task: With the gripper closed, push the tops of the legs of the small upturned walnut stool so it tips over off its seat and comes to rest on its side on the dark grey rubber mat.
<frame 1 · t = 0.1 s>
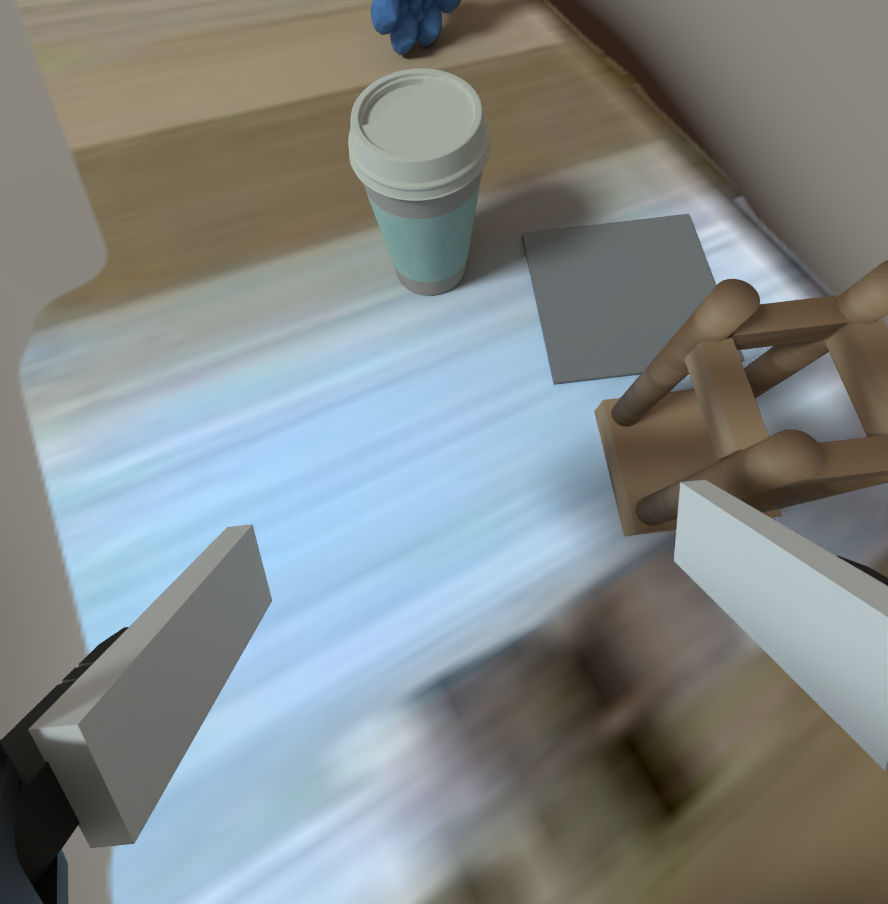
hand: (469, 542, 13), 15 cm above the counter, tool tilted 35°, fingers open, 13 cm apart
coffee cup: (431, 268, 35), on the counter
mat: (624, 295, 33), on the counter
stool: (673, 463, 29), on the counter
grapes: (422, 42, 44), on the counter
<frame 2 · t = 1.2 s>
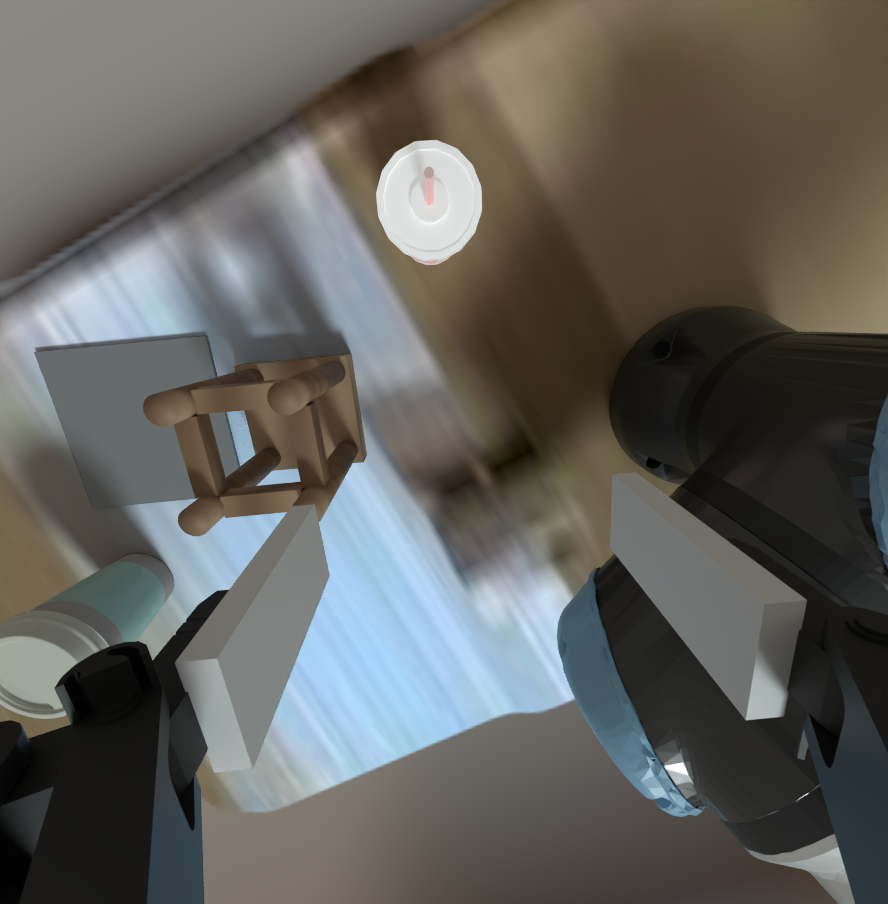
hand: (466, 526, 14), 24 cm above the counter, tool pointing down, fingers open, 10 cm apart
coffee cup: (145, 578, 41), on the counter
mat: (148, 426, 37), on the counter
stool: (308, 410, 37), on the counter
beverage cup: (430, 233, 33), on the counter
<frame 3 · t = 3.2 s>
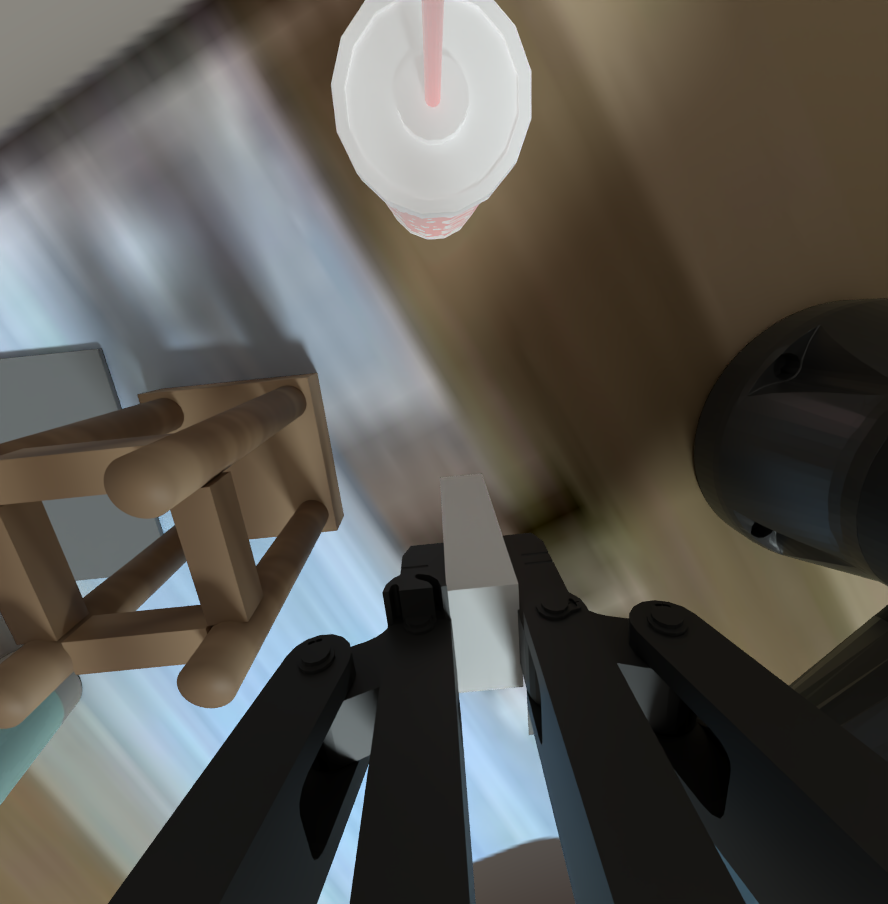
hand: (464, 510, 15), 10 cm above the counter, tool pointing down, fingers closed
coffee cup: (42, 680, 30), on the counter
mat: (25, 479, 25), on the counter
stool: (257, 455, 25), on the counter
beverage cup: (432, 190, 21), on the counter
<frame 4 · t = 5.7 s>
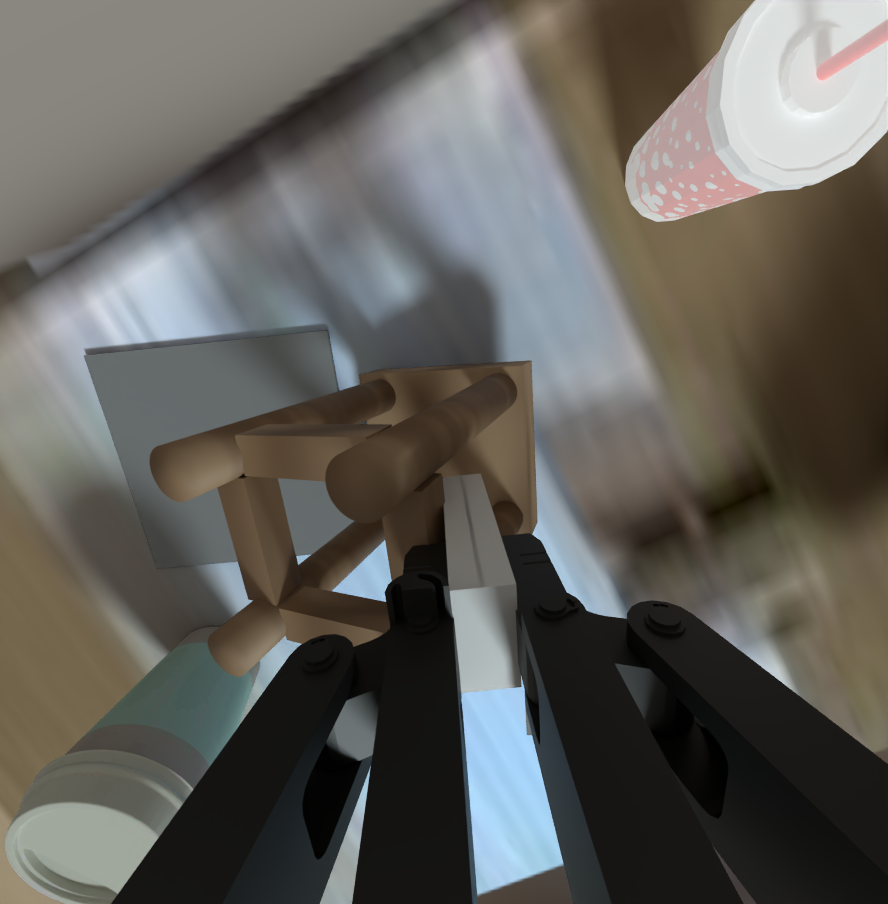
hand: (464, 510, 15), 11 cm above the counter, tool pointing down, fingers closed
coffee cup: (221, 656, 31), on the counter
mat: (237, 458, 26), on the counter
stool: (456, 444, 24), point 2 cm above the counter, tilted 24°, touching gripper
beverage cup: (667, 173, 22), on the counter
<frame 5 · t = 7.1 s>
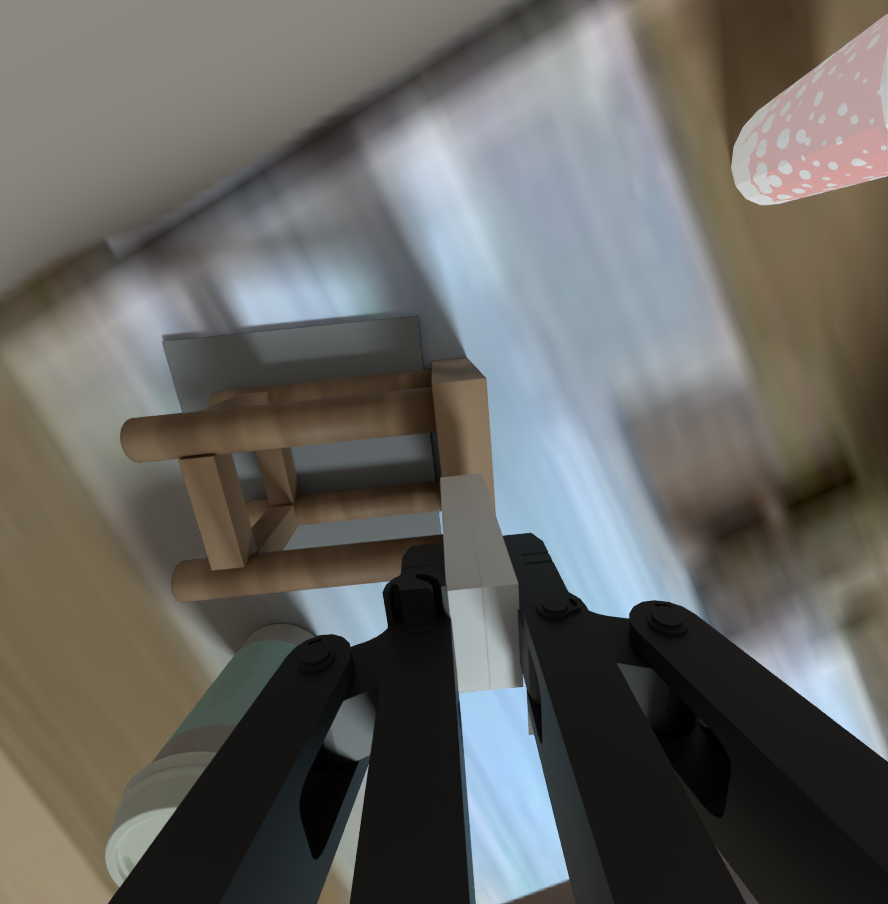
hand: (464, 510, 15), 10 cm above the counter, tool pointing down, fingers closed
coffee cup: (285, 654, 30), on the counter
mat: (315, 449, 25), on the counter
stool: (481, 456, 21), point 4 cm above the counter, tilted 90°, touching mat
beverage cup: (773, 155, 21), on the counter
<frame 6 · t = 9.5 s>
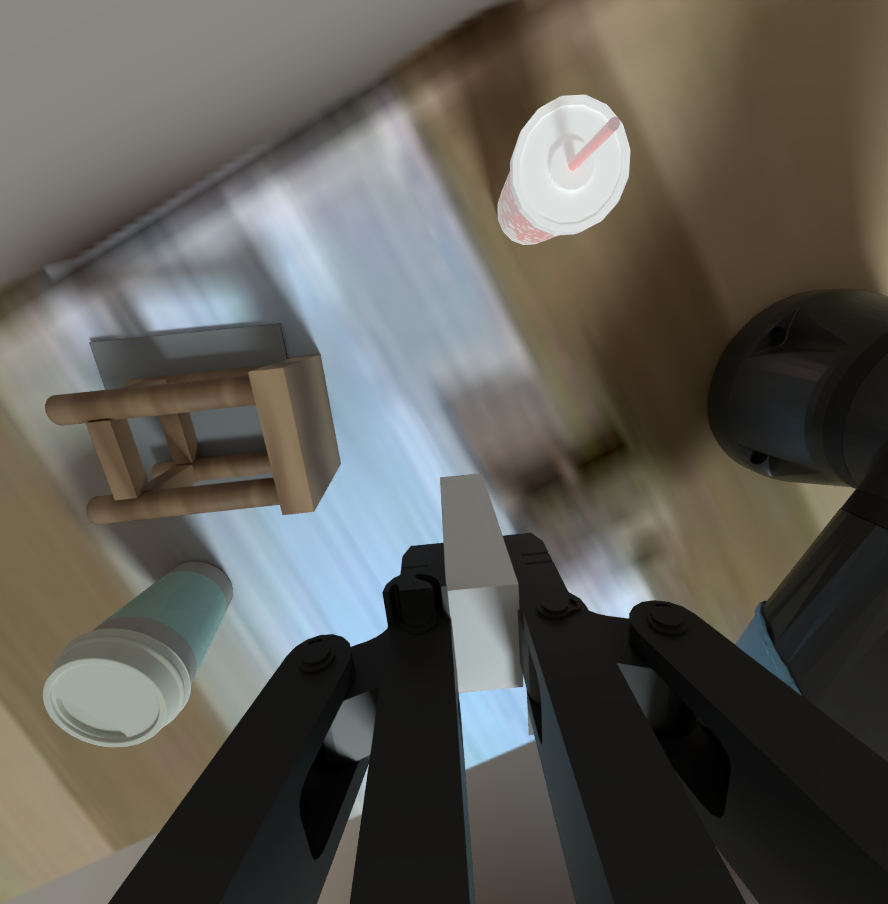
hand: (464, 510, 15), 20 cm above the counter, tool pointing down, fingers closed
coffee cup: (201, 587, 38), on the counter
mat: (211, 423, 33), on the counter
stool: (317, 425, 29), point 4 cm above the counter, tilted 90°, touching mat
beverage cup: (528, 210, 30), on the counter
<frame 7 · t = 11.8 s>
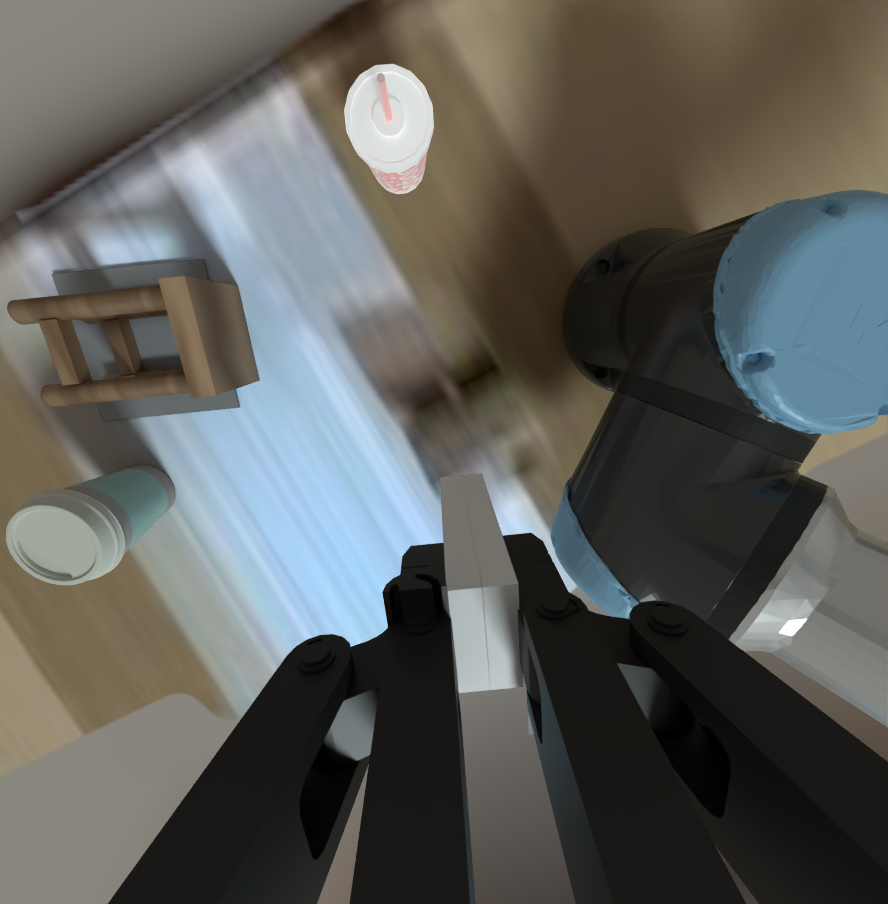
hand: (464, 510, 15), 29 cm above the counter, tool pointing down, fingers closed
coffee cup: (149, 489, 46), on the counter
mat: (152, 344, 41), on the counter
stool: (227, 336, 37), point 4 cm above the counter, tilted 90°, touching mat
beverage cup: (399, 165, 37), on the counter
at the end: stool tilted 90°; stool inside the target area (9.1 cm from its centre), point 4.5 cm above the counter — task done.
